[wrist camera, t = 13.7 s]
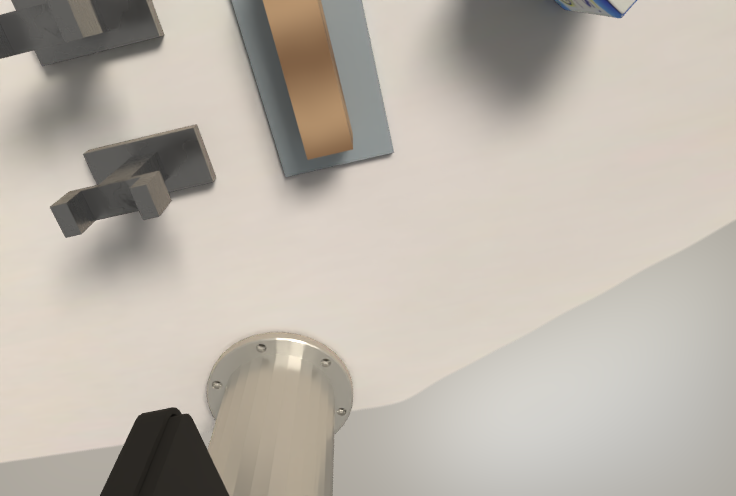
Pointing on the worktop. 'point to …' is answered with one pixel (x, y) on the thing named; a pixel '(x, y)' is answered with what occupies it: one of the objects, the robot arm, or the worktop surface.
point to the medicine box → (598, 6)
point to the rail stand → (121, 160)
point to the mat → (354, 76)
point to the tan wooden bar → (311, 75)
